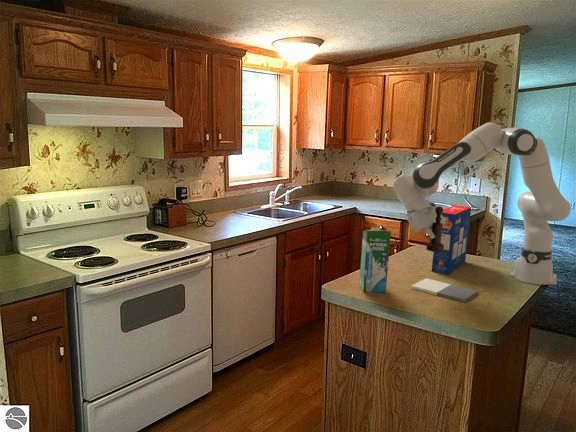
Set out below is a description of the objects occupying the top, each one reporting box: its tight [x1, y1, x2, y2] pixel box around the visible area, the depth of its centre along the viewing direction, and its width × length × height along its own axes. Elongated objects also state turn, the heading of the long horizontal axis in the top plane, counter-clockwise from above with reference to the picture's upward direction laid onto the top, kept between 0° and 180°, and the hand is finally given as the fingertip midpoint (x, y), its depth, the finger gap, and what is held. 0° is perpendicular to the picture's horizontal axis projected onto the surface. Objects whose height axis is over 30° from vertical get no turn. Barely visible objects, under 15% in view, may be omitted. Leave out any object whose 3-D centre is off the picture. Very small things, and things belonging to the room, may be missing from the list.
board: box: [410, 278, 479, 303], centre depth 193 cm, size 14×22×1 cm, turn 49°
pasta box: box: [431, 204, 472, 276], centre depth 226 cm, size 28×8×28 cm, turn 146°
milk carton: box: [359, 227, 392, 293], centre depth 190 cm, size 9×9×25 cm
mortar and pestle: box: [426, 205, 444, 253], centre depth 191 cm, size 7×6×18 cm
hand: (437, 237), depth 192 cm, fingers closed on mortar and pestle, 4 cm apart
